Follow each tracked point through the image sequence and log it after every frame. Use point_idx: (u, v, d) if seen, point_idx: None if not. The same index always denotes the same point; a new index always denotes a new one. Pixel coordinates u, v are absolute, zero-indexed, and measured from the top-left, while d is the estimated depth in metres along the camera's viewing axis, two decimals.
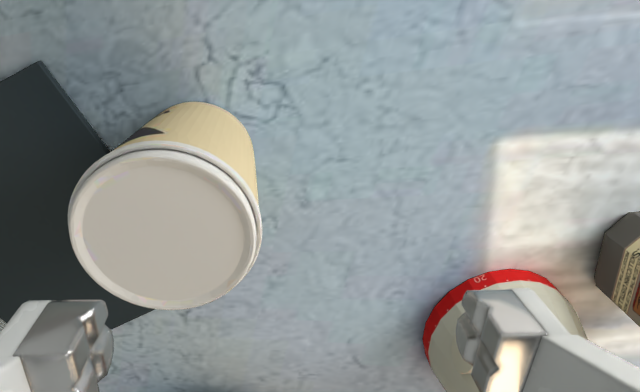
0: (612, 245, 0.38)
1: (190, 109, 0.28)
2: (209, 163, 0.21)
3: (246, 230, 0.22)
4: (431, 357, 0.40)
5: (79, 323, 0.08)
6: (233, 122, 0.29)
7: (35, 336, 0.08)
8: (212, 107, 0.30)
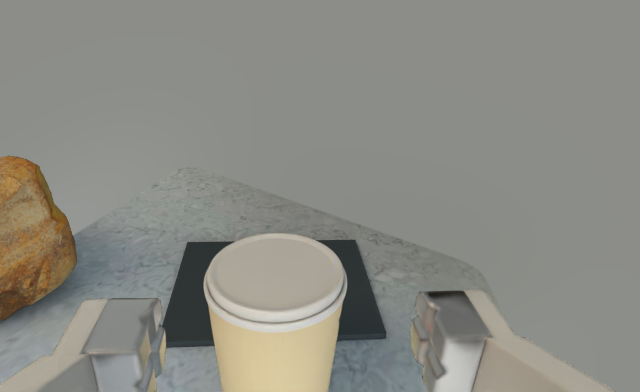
0: None
1: (326, 386, 0.31)
2: (315, 313, 0.26)
3: (252, 306, 0.25)
4: None
5: (141, 321, 0.09)
6: None
7: (101, 334, 0.08)
8: None
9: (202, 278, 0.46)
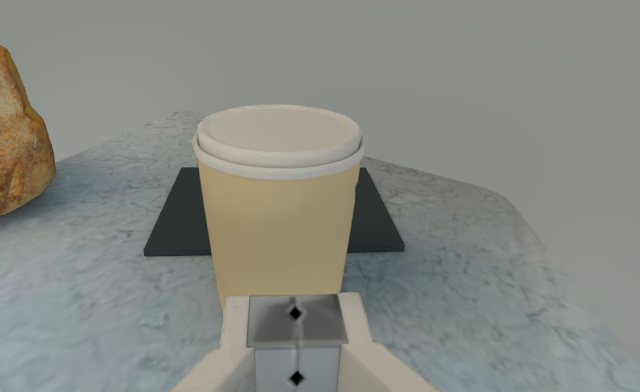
0: None
1: (339, 278, 0.27)
2: (328, 162, 0.21)
3: (251, 149, 0.21)
4: None
5: (290, 316, 0.09)
6: None
7: (257, 329, 0.09)
8: None
9: (197, 196, 0.41)
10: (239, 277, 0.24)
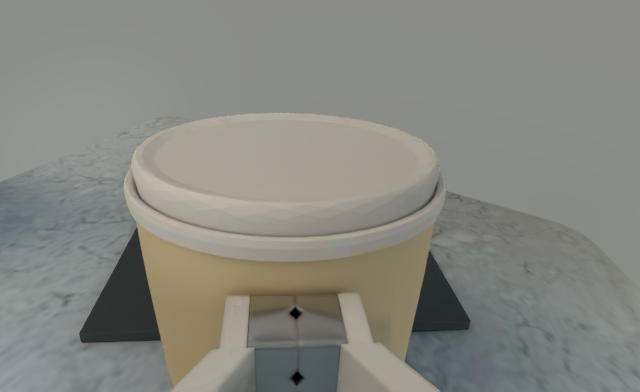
0: None
1: None
2: (389, 221, 0.10)
3: (229, 196, 0.10)
4: None
5: (291, 316, 0.09)
6: None
7: (257, 328, 0.09)
8: None
9: None
10: None
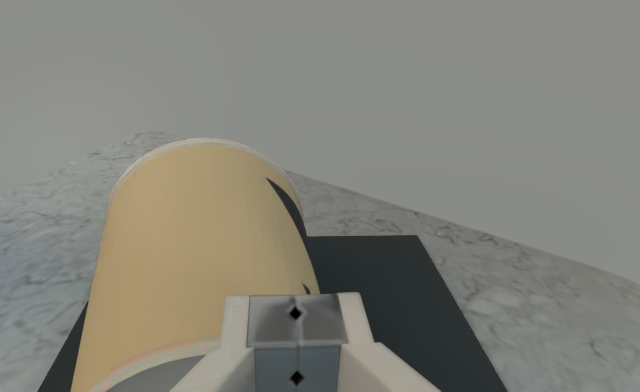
0: None
1: (274, 272, 0.14)
2: None
3: None
4: None
5: (290, 316, 0.09)
6: (180, 291, 0.12)
7: (257, 329, 0.09)
8: None
9: None
10: (90, 300, 0.14)
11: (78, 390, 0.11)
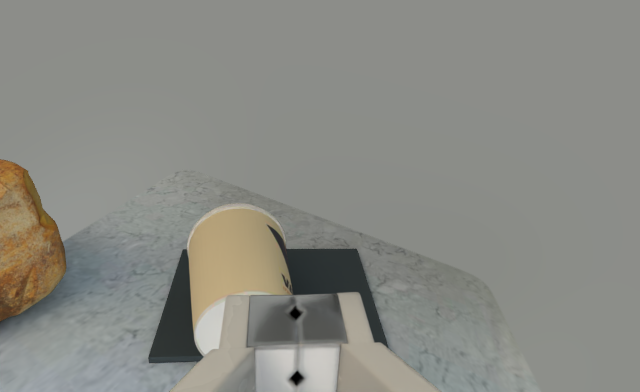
0: None
1: (270, 269, 0.35)
2: None
3: None
4: None
5: (290, 316, 0.09)
6: (235, 275, 0.33)
7: (257, 328, 0.09)
8: (258, 282, 0.33)
9: None
10: (195, 279, 0.35)
11: (201, 309, 0.32)
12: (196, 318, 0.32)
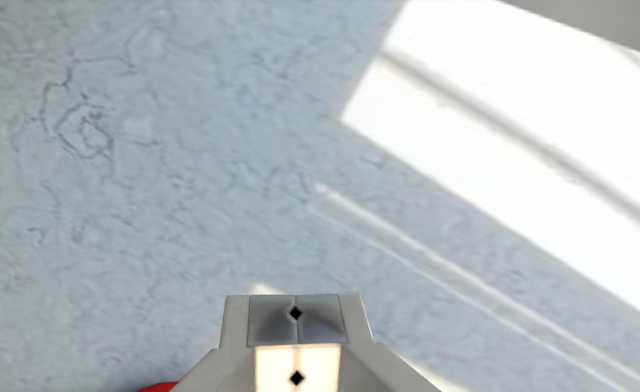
0: None
1: None
2: None
3: None
4: None
5: (290, 316, 0.09)
6: None
7: (257, 328, 0.09)
8: None
9: None
10: None
11: None
12: None
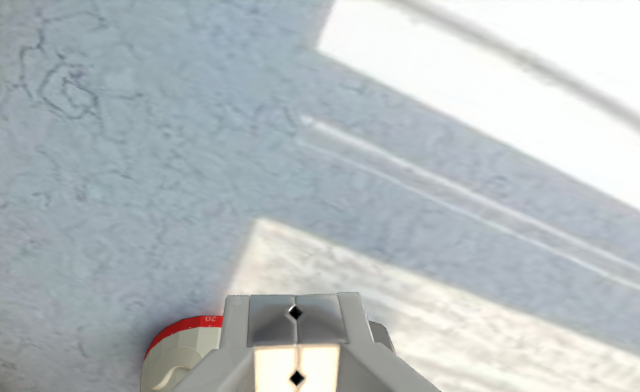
0: None
1: None
2: None
3: None
4: (142, 368, 0.45)
5: (290, 316, 0.09)
6: None
7: (257, 328, 0.09)
8: None
9: None
10: None
11: None
12: None
